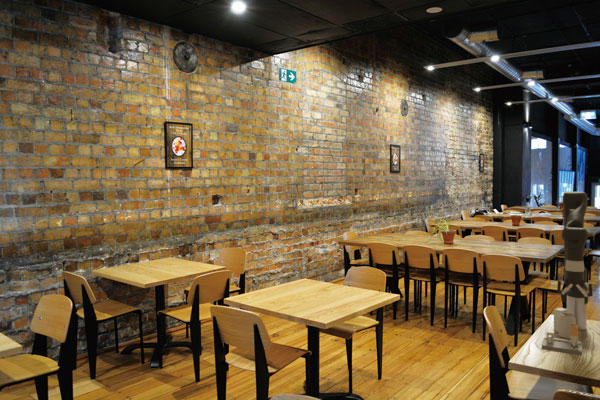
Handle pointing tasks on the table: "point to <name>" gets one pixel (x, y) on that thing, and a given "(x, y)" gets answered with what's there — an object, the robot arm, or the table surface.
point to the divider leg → (574, 335)
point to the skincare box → (556, 317)
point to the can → (566, 324)
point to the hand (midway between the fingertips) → (574, 303)
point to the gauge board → (560, 344)
